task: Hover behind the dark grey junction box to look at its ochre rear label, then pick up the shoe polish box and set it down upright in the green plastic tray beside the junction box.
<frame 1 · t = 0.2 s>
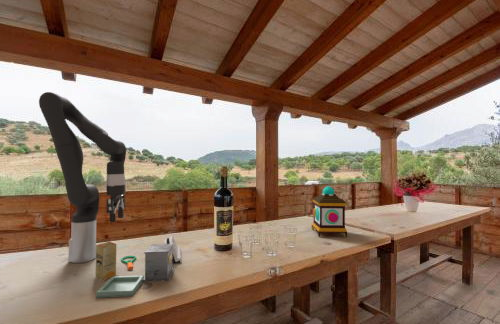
hand: (116, 219, 110), 17 cm above the table, tool pointing down, fingers open, 8 cm apart
magnifying glass: (129, 264, 104), on the table
shoe polish box: (105, 276, 92), on the table
decorative lantern: (328, 233, 153), on the table
white piece: (172, 257, 112), on the table
junction box: (159, 275, 93), on the table
tray: (121, 288, 83), on the table
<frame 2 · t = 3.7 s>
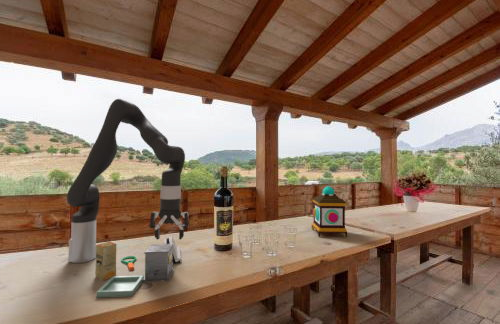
hand: (169, 238, 94), 14 cm above the table, tool pointing down, fingers open, 8 cm apart
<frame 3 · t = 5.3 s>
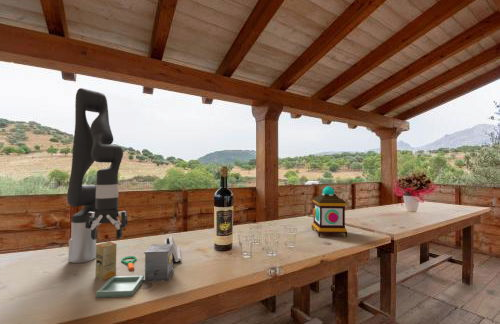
hand: (106, 238, 92), 14 cm above the table, tool pointing down, fingers open, 8 cm apart
nothing on the table moved.
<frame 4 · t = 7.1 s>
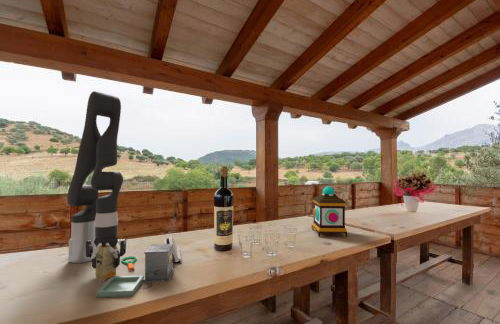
hand: (106, 267, 92), 3 cm above the table, tool pointing down, fingers closed on shoe polish box, 7 cm apart
shoe polish box: (105, 276, 92), on the table, touching gripper
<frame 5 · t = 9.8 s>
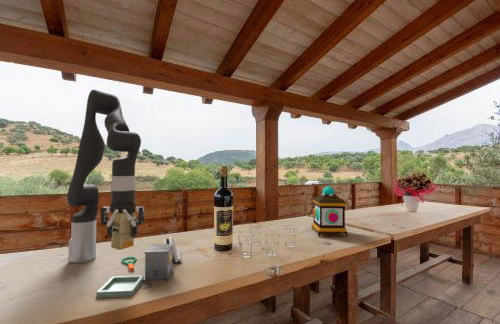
hand: (122, 236, 84), 18 cm above the table, tool pointing down, fingers closed on shoe polish box, 7 cm apart
shoe polish box: (122, 247, 83), point 14 cm above the table, touching gripper
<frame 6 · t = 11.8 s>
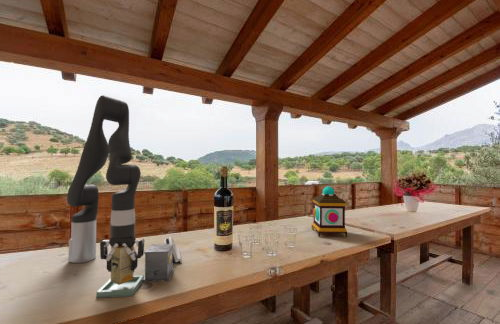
hand: (122, 270, 83), 6 cm above the table, tool pointing down, fingers closed on shoe polish box, 7 cm apart
shoe polish box: (122, 280, 83), point 3 cm above the table, touching gripper
when the fingers open (6 cm above the table, at t = 12.9 s): shoe polish box drops 2 cm, resting on tray.
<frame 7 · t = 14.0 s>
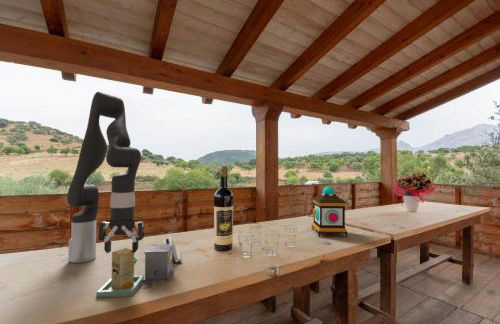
hand: (121, 252, 83), 12 cm above the table, tool pointing down, fingers open, 8 cm apart
shoe polish box: (122, 287, 83), resting on tray
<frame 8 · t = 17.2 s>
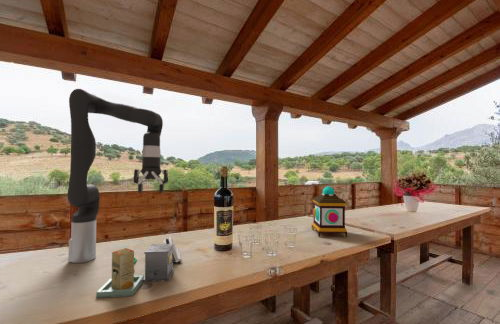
hand: (150, 192, 108), 30 cm above the table, tool pointing down, fingers open, 8 cm apart
at the end: shoe polish box inside the target area on the tray (0.3 cm from its centre), point 0.3 cm above the tray's base; shoe polish box tilted 0°; the gripper is holding nothing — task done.
